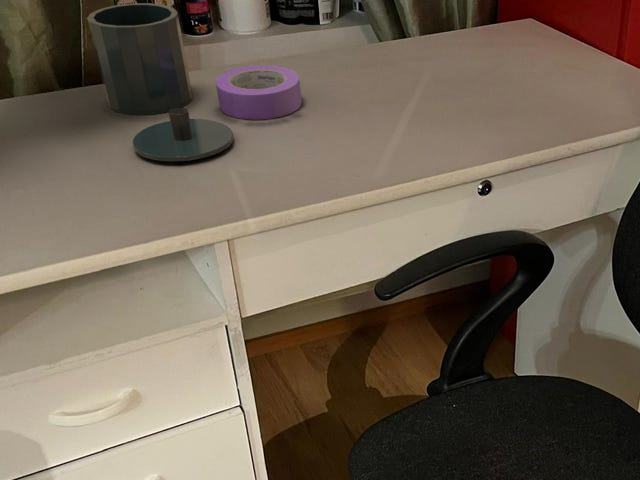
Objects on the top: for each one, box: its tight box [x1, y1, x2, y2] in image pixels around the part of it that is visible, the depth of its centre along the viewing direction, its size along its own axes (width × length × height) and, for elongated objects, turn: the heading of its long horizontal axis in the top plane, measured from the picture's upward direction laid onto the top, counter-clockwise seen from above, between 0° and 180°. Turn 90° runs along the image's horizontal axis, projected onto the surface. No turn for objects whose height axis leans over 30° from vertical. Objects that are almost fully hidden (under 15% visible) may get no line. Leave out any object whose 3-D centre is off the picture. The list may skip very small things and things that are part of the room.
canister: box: [86, 2, 193, 116], centre depth 122 cm, size 12×12×12 cm
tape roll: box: [215, 64, 303, 121], centre depth 124 cm, size 12×12×4 cm
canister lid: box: [132, 107, 234, 162], centre depth 112 cm, size 13×13×5 cm
